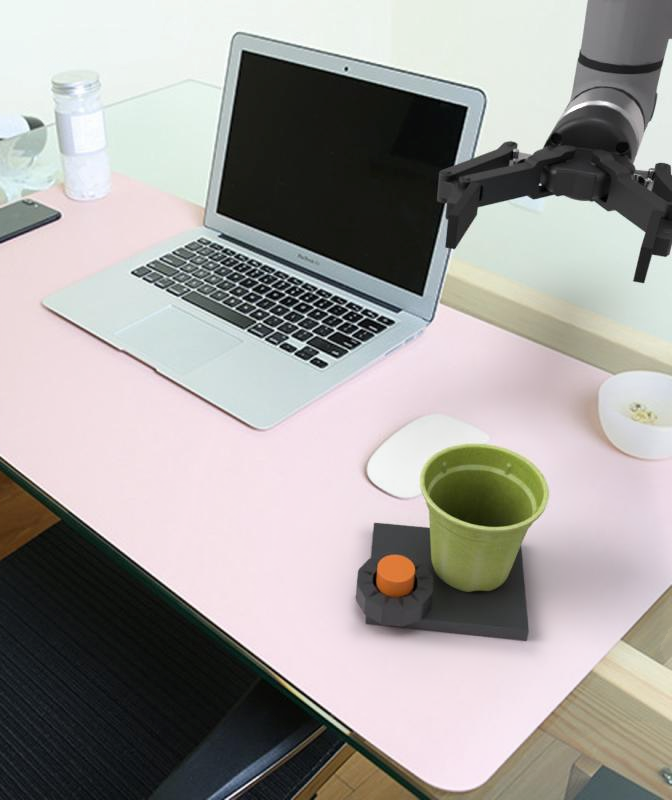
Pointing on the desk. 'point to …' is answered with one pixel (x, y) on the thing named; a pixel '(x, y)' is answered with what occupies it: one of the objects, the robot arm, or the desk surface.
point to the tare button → (395, 576)
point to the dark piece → (439, 593)
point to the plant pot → (480, 512)
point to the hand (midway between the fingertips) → (543, 248)
